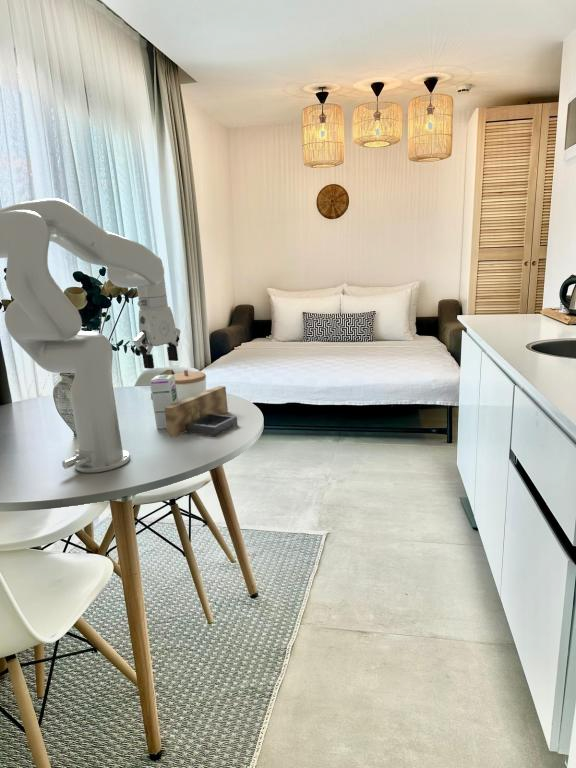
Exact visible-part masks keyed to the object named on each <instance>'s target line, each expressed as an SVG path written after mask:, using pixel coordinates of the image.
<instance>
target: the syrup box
mask: <svg viewBox="0 0 576 768" xmlns="http://www.w3.org/2000/svg"><path fill="white" fill-rule="evenodd" d="M149 384H150V385H149V386H150V392H151V393H152V399H151V400H152V408H153V411H154V418H155V419H154V420H155V426H156V429H158V430H159V429H160V430H163V428H166V429H167V423H166V415H165V408H164V407H167V406H169V405H172V404H174V403H177V402H178V399H177V392H176V385H175V377H174V375H160V374H158V375H155V376H154V377H153V378H151V379H150V380H149Z"/></svg>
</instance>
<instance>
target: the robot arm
mask: <svg viewBox="0 0 576 768" xmlns="http://www.w3.org/2000/svg"><path fill="white" fill-rule="evenodd" d="M50 242H52V243H55V244H56V245H58V246H60V247H62V248H63V249H64V250H67V251H68V252H69V253H71V255H73V256H75V257H77V258H79V259H80V260H82V261H83V262H85V263H89V264H92V265H96V266H97V265H98V266H100V267H102V266H103V267H107V271H106V272H107V277H108V280H109V281H110V282H111V283H112V284H113V285H114V286H116V287H119V288H125V289H127V288H136V290H137V299H138V301H137V305H138V307H139V310H138V331H139V334H138V335H137V336H136V337H135V338H134V339H133V341H132V342H133V344H134V346H135V348H136V350H137V351H138V352H139V354H140V355H142V361H143V363H142V364H143V367H144V369H150V370H152V369H154V368H155V364H154V356H153V354H152V353H151V352H152V349H153V348H154V347H159V346H163V345H167V346H166V351H167V358H168V359H167V360H168V361H169V362H177V361H179V355H178V348H177V347H178V346H179V342H180V334H181V330H180V328H177V327H176V323H175V318H174V315H173V312H172V309H171V307H170V306H169V303H168V296H167V288H166V282H165V267H164V265H163V261H162V258H161V257H159V256H157V255H156V253H154V252H152V251H151V250H150V249H149V248H148V247H146V246H145V245H143V244H141V243H139V242H137V241H135V240H132V239H129V238H127V237H124V236H121V235H118V234H116V233H113V232H110V231H106V230H104V229H103V228H102V227H100V226H99V225H98V224H96V223H95V222H93V221H92V220H91V219H89V217H88V216H86V215H85V214H83V213H82V212H81V211H79V210H78V209H77V208H75V207H74V206H73V205H71V204H70V203H68V202H67V201H65V200H64V199H60V198H43V199H38V200H30V201H24V202H19V203H15V204H13V205H9V206H5V207H2V208H0V259H4V258H5V259H6V258H7V260H6V261H7V262H6V269H5V270H6V271H5V284H6V289H7V291H8V293H9V295H10V296H11V298H12V299H13V301H11V302H10V303H9V304H8V306H7V307H6V309H5V312H4V322H5V326H6V329H7V331H8V333H9V335H10V336H11V338H12V339H13V340H14V341H15V342H16V343H17V344H18V345H19V347H21V349H22V350H23V351H24V352H25V353H26V354H27V355H28V356H29V358H31V359H32V360H33V361H34V362H35V363H36V364H37V365H38V366H40V368H42V369H43V370H45V371H47V372H49V373H57V374H74V377H73V381H72V383H71V386H70V390H69V391H70V392H69V397H70V404H71V408H72V414H73V420H74V428H75V432H76V437H77V438H76V439H77V444H78V449H75V450H74V452H75V454H74V455H73V457H71V458H70V457H69V458H67V459H65V460H63V461H62V462H61V464H62V467H63V468H64V469H65V470H67V469H69V468H71V467H74V468H75V469H76V471H79V472H81V473H88V474H89V473H92V474H94V473H100V472H107V471H111V470H114V469H117V468H121V467H122V466H123V465H126V464H127V463H128V462H129V461H130V460H131V454H130V452H129V451H128V450H125V449H123V444H122V439H121V437H122V436H121V431H120V430H121V429H120V425H119V423H120V422H119V418H118V411H117V410H118V409H117V404H116V398H115V392H114V391H115V390H114V386H113V385H114V383H113V352H114V351H113V347H112V343H111V341H110V340H109V339H108V338H107V336H105V335H103V334H102V333H100V332H96V331H90V330H89V331H88V330H86V331H85V330H83V331H82V325H83V322H82V321H83V320H82V316H81V314H80V312H79V311H78V309H77V308H76V307H75V305H74V304H73V302H71V300H70V299H69V298H68V296H67V295H66V293H64V292H63V290H62V289H61V287H60V286H59V285H58V283H57V282H56V280H55V279H54V278H53V276H52V274H51V273H50V269H49V266H48V265H49V264H48V262H49V261H48V260H49V259H48V255H49V246H50Z"/></svg>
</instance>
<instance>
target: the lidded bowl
mask: <svg viewBox="0 0 576 768" xmlns="http://www.w3.org/2000/svg"><path fill="white" fill-rule="evenodd" d="M173 375H174V377H175V385H176V392H177V399H178V402H180V401H182V400H185V399H187V398H190V397H192V396H195V395H197V394H200V393H202V392H205V391H207V380H206V379H207V374H206V373H205V372H202V371H189V370H188V369H184V370H183V372H179V373H175V374H173Z"/></svg>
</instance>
